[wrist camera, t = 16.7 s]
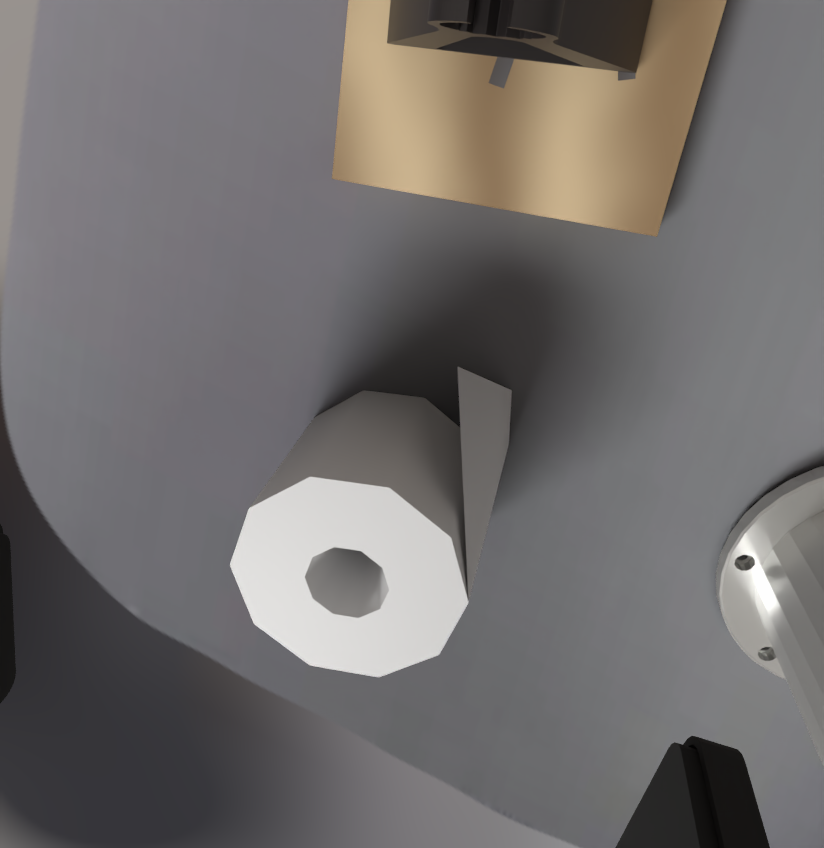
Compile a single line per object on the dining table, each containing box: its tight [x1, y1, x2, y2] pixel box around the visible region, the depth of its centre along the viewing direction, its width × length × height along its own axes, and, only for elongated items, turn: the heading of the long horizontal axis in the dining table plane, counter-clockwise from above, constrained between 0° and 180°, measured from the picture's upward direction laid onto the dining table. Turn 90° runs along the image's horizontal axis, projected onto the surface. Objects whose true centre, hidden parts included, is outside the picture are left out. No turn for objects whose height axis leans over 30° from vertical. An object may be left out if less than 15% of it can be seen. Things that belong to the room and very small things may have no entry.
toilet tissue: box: [230, 367, 512, 677], centre depth 30 cm, size 9×13×9 cm
